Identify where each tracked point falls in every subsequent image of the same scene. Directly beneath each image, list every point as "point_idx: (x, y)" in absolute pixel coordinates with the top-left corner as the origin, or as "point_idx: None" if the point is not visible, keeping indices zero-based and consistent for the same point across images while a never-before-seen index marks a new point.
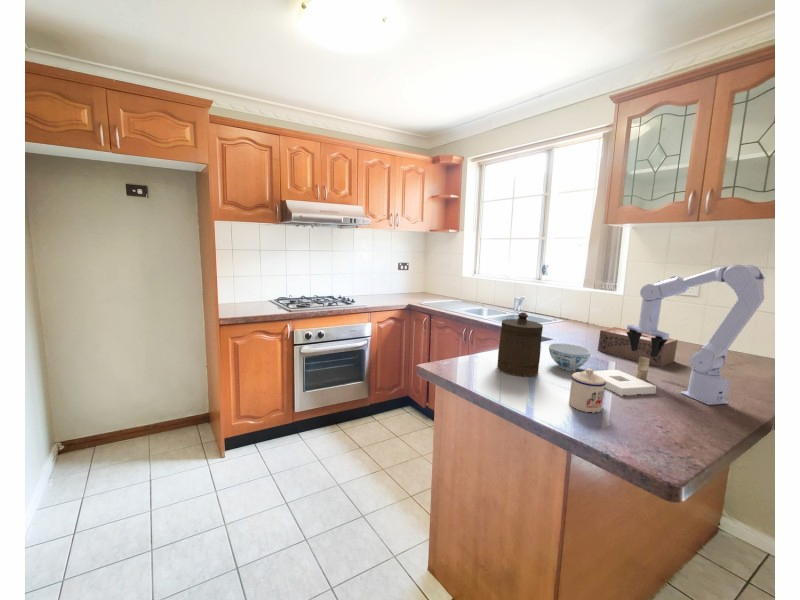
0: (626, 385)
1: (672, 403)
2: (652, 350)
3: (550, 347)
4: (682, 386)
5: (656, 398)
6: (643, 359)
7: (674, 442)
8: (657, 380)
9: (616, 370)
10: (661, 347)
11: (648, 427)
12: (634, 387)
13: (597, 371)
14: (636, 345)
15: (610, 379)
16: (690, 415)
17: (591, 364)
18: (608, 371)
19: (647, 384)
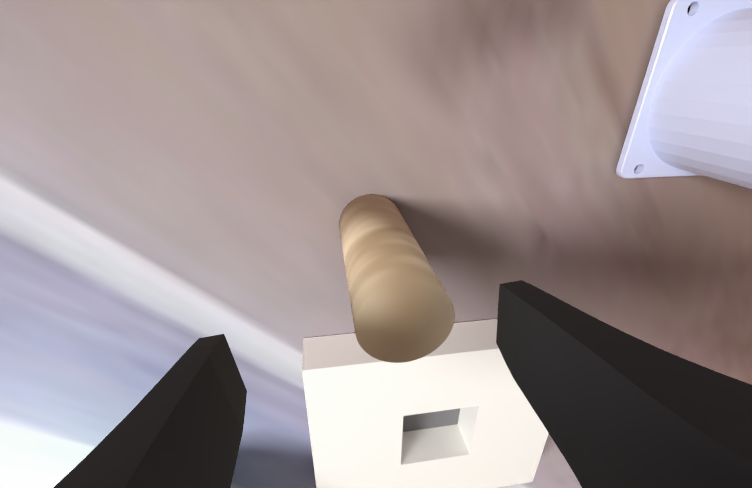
0: (516, 453)
1: (646, 321)
2: (559, 426)
3: None
4: (555, 5)
5: None
6: (427, 351)
7: None
8: (408, 108)
9: (314, 384)
10: (680, 362)
11: None
12: (545, 437)
13: (326, 478)
14: (203, 421)
15: (439, 474)
16: (724, 339)
17: (45, 356)
18: (330, 433)
19: None
